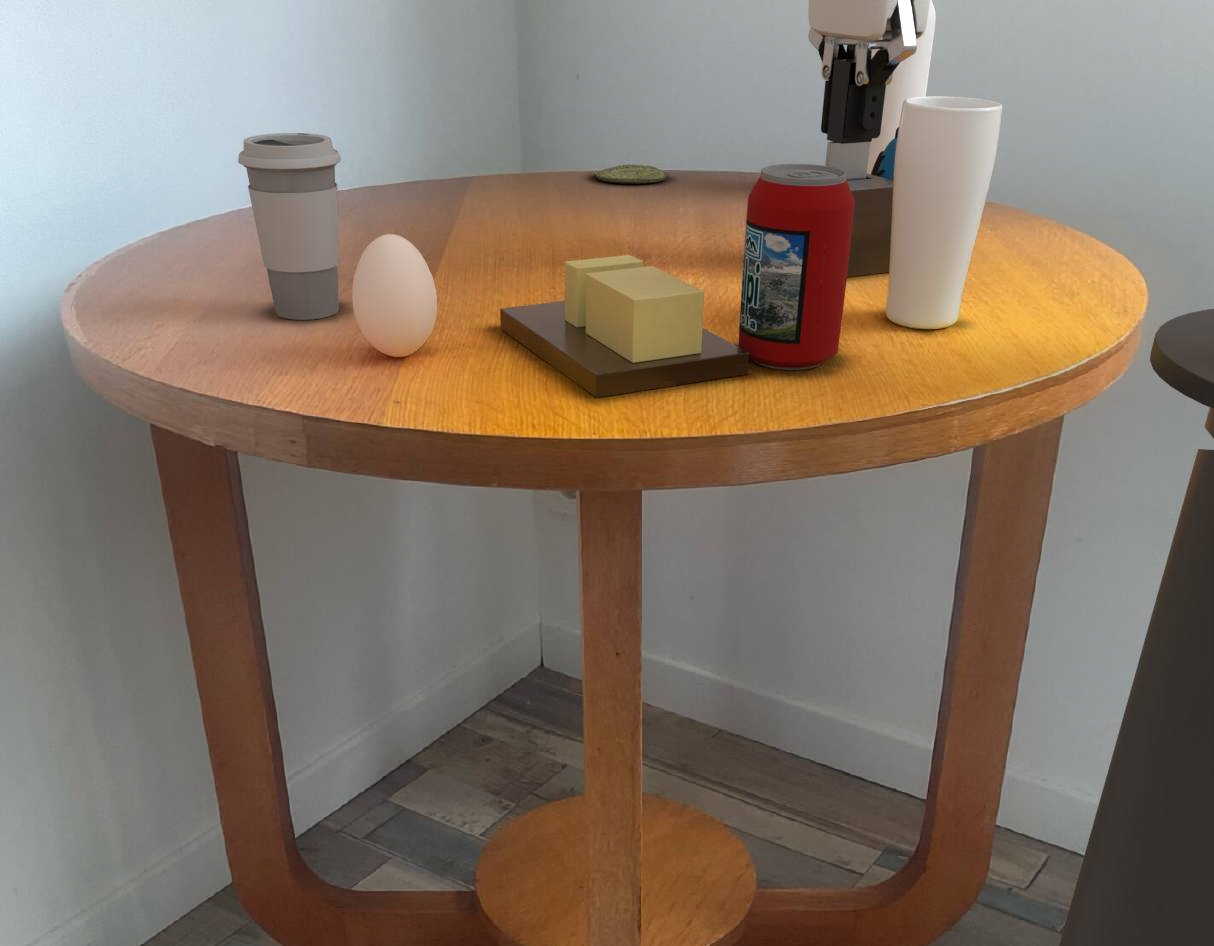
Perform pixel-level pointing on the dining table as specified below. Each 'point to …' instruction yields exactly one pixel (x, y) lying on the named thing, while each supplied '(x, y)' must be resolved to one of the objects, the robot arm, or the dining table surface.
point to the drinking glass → (938, 204)
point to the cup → (296, 219)
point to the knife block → (870, 226)
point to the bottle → (904, 87)
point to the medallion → (631, 174)
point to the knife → (843, 150)
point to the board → (614, 354)
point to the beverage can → (795, 265)
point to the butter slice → (577, 282)
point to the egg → (394, 296)
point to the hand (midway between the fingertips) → (850, 133)
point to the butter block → (644, 313)
